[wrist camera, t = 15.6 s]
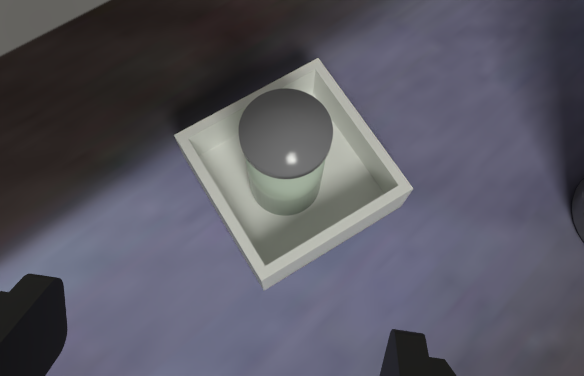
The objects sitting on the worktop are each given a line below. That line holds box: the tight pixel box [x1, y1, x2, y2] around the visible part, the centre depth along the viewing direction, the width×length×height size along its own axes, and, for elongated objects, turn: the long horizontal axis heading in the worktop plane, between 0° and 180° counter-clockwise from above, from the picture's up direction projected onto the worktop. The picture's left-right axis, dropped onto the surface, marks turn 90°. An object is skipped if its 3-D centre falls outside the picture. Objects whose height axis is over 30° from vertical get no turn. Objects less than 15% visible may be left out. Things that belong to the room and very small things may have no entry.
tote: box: [174, 58, 413, 290], centre depth 45 cm, size 14×14×5 cm
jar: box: [239, 88, 333, 216], centre depth 41 cm, size 6×6×10 cm
